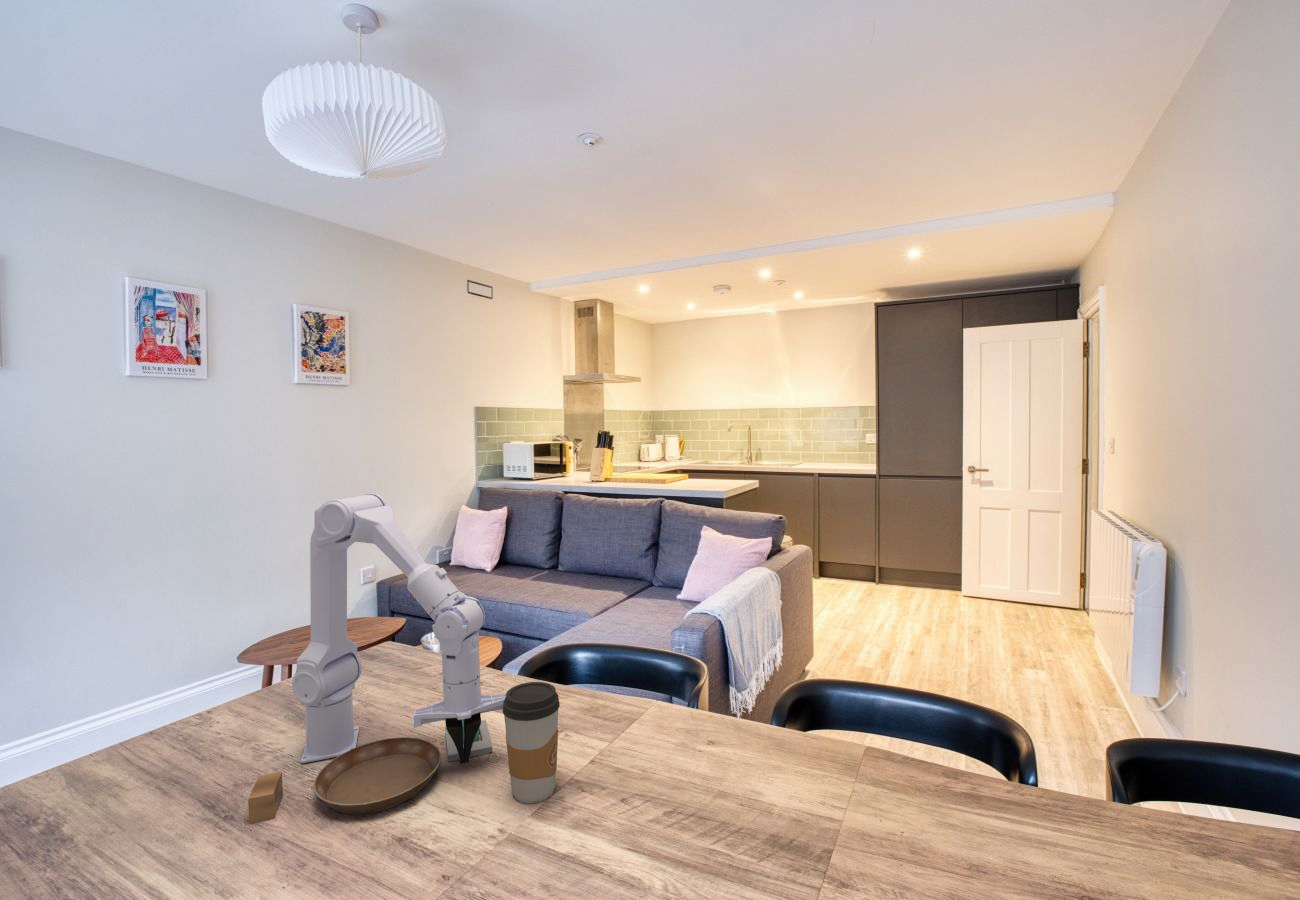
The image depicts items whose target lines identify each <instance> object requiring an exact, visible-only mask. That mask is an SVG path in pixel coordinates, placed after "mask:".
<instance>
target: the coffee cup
mask: <svg viewBox="0 0 1300 900" xmlns="http://www.w3.org/2000/svg"><path fill="white" fill-rule="evenodd" d="M505 694H506V698H505V699H504V701H503V709H502V714H503V715H504V717H503V718H504V726H505V727H504V729H505V741H506V751H507V752H506V753H507V754H506V755H507V762H508V770H509V772H508V773H509V775H510V786H511V793H512V794H513V796H514V799H515V800H517V802H520V803H524V804H536V803H539V802H543V801H544V800H547V799H549V798H550V797H551V796H552V794H553V792H554V790H555V789H556V778H557V768H558V741H559V738H558V737H559V729H558V728H559V727H558V726H559V723H558V722H559V708H560V704H561V703H560V699H559V698H560V697H559V694H558V692H557V689H556V687H555V685H553V684H551V683H549V682H548V683H547V682H545V681H544V682H542V681H531V682H524V683H519V684H516V685H515V686H513V687H511V688H509V689H508V690H507V691H506V693H505Z"/></svg>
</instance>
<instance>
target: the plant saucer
mask: <svg viewBox="0 0 1300 900" xmlns="http://www.w3.org/2000/svg"><path fill="white" fill-rule="evenodd" d="M441 759H442V755H441V750H440V748H439V747H438V746H437V745H435V743H433V742H431V741H429V740H427V739H423V738H417V737H411V736H410V737H409V736H407V737H406V736H404V737H399V736H398V737H390V738H384V739H380V740H375V741H372V742H368V743H365V744H362V745H361V744H360V745H359V746H356V748H354V749H351V750H349V751H347V752H345V753H343V754H341V755H340V756H338V757H334V758H332V760H331V761H329V762H328V763H327V764H326V765H325V766H323V768H322V769H321V770H320V771H319V772H318V773H317V775H316V777H315V779H314V782H313V791H314V794H315V795H316V796H317V798H318V799H320V801H322V802H323V803H324V804H326V805H327V806H328V807H330V808H332V810H335V811H337V812H340V813H344V814H349V815H363V814H364V815H365V814H373V813H377V812H382V811H384V810H388V809H391V808H394V807H396V806H399V805H400V804H403V803H405V802H406V801H408V800H409V799H411V798H412V797H414V796H415V795H417V794H418V793H419V792H420V791H421V790H423V788H425V786H426V785H427V784H428V783H429V781H430V780H432V778H433V776H434V774H435V773H436V771H437V769H438V768H439V765H440V763H441Z"/></svg>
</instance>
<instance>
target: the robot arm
mask: <svg viewBox="0 0 1300 900" xmlns="http://www.w3.org/2000/svg"><path fill="white" fill-rule="evenodd" d="M309 541H310V543H309V544H310V545H309V547H310V549H309V550H310V551H309V553H310V555H309V556H310V566H309V568H310V570H309V571H310V572H309V573H310V574H309V575H310V579H309V580H310V581H309V582H310V584H309V587H310V588H309V589H310V642H309V644H308V646H307V647H306V648H305V649H304V651H303V652H302V653H301V655H299V657H298V658H297V659H296V668H295V669H296V670H295V673H294V675H293V677H292V680H291V681H292V682H291V687H292V688H291V689H292V693H293V695H294V696H295V697H294V698H296V699H297V701H298V702H300V705H302V706H304V715H305V717H304V719H305V721H304V723H305V738H306V739H305V741H306V744H305V747H304V749H303V750H304V751H303V752H302V754H301V755H302V756H301V759H300V764H306V763H311V762H317V761H323V760H327V759H334V758H336V757H338V756H340V755H341V754H343V753H345V752H347V751H349V750H351V749H354V748H356V747H357V743H358V738H359V732H360V726H359V725H354V724H355V723H354V703H353V699H354V698H353V691H354V690H355V689H356V683H357V681H358V680H359V679H360V677H361V675H362V671H363V670H362V662H361V660H360V657H359V654H358V644H357V643H355V642H354V641H353V640H351V639H349V638H348V549H349V547H351V546H352V545H353V544H354V543H355V542H356V543H366V544H373V545H375V546H376V547H377V548H378V549H379V550H380V551H381V552H382V553H383V554H384V555H385V556H386V558H388V559H389V560H390V561H391V562H392V563H393V564H394V565H395V566H396V567H397V568H398V569H399V570H400V571H401V572H402V573H403V574H404V576H406V577H407V585H406V586H407V589H406V590H407V591H408V592H409V593H410V594H411V596H413V598H414V599H415V600H416V601H417V603H418V604H419V605H420V606H421V607H422V608H423V609H424V610H425V612H426V613H427V614H428V615H429V616H430V618H431V619H432V620H433V622H434V624H432V625H431V628H432V632H433V635H434V636H435V638H436V639H437V641H438V643H439V650H440V652H441V664H442V666H441V667H442V668H441V671H442V695H443V696H442V697H443V698H442V699H443V701H441V702H438V703H435V704H432V705H429V706H426V707H422V708H418V709H413V728H418V727H422V725H423V724H430V723H434V722H435V723H436V722H441V721H445V728H446V729H447V731H448V733H449V735H450V736H451V738H452V740H453V742H454V744H455V746H456V748H457V751H458V754H459V764H460V765H464V764H470V758H471V757H470V753H471V748H472V745H473V741H474V739H475V736H476V734H477V731H478V729H479V728H480V725H481V721H482V716H481V715H482V714H483V713H485V714H486V713H491V712H495V711H500V710H503V701H504V699H505V698H506V693H502V694H482V690H481V687H482V686H481V666H480V665H481V664H480V663H481V662H480V661H481V659H480V634H479V630H480V629H481V628H482V627H483V625H484V624H485V622H486V612H485V609H484V607H483V605H482V604H481V602H480V601H479V599H477V598H475V597H473V596H468V595H466V594H465V593H464V592H462V591H460V590H459V588H457V586H456V585H455V584H454V583H453V582H452V580H450V578H449V577H448V576H447V574H448V572H447V571H446V570H445V568H444V567H439V565H437V564H430V563H426V561H425V560H424V559H423V558H422V556H421V555H420V553H419V552H418V551H417V549H416V548H415V547H414V545H413V544H412V542H411V541H410V539H409V538H408V537H407V535H406V534H405V533H404V531H403V530H402V529H401V528H400V526H399V525H398V523H397V522H396V520H395V514H394V509H393V508H391V506H389V504H387V502H386V500H385V499H384V498H383V497H382V496H381V495H379V494H377V493H373V492H372V493H365V494H364V495H358V496H352V497H351V496H350V497H345V498H344V497H343V498H341V499H340V498H339V499H335V498H334V499H329V500H327V501H326V502H324V503H323V504H322V505H321V506H319V507H318V508H316V510H314V528H313V529H312V533H311V536H310V540H309ZM481 694H482V695H481ZM462 719H463V720H464V748H463V725H462Z"/></svg>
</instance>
